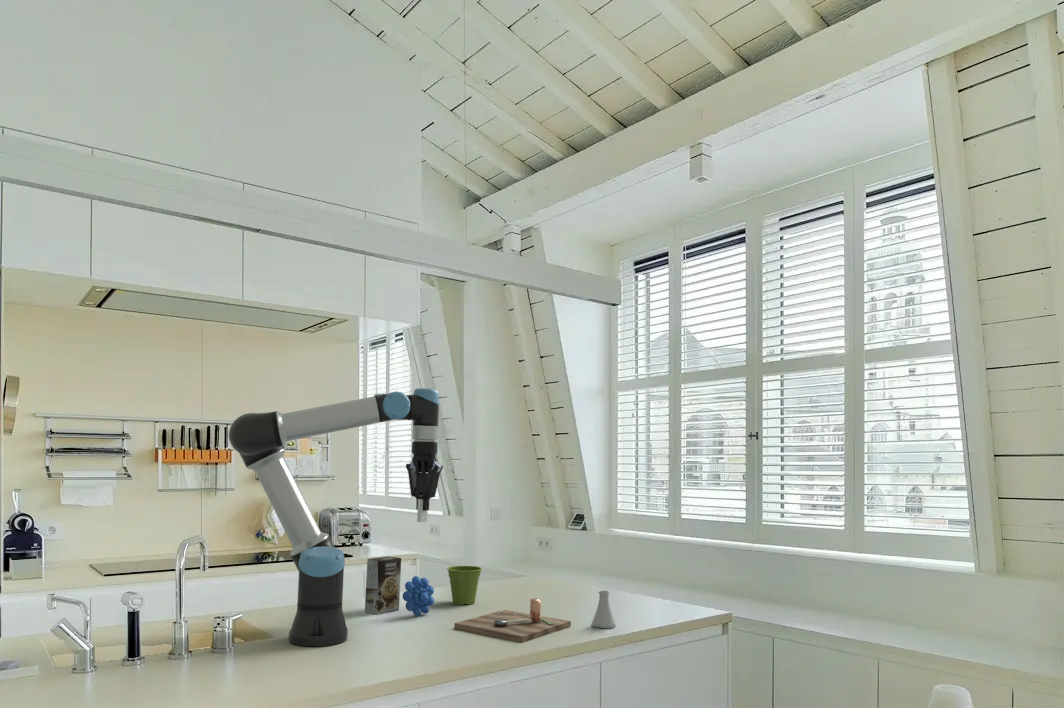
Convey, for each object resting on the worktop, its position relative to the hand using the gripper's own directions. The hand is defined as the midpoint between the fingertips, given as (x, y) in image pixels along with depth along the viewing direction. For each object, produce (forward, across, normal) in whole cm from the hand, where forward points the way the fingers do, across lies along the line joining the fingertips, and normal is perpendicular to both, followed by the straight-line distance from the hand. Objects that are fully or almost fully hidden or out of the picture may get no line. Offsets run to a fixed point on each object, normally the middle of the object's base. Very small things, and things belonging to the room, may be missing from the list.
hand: (422, 521), depth 239 cm
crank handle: (+28, -26, -14) cm, 40 cm away
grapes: (+30, +7, -8) cm, 31 cm away
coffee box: (+30, +21, -6) cm, 37 cm away
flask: (+30, -42, -34) cm, 62 cm away
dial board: (+29, -23, -15) cm, 40 cm away
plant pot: (+30, +10, -32) cm, 45 cm away
